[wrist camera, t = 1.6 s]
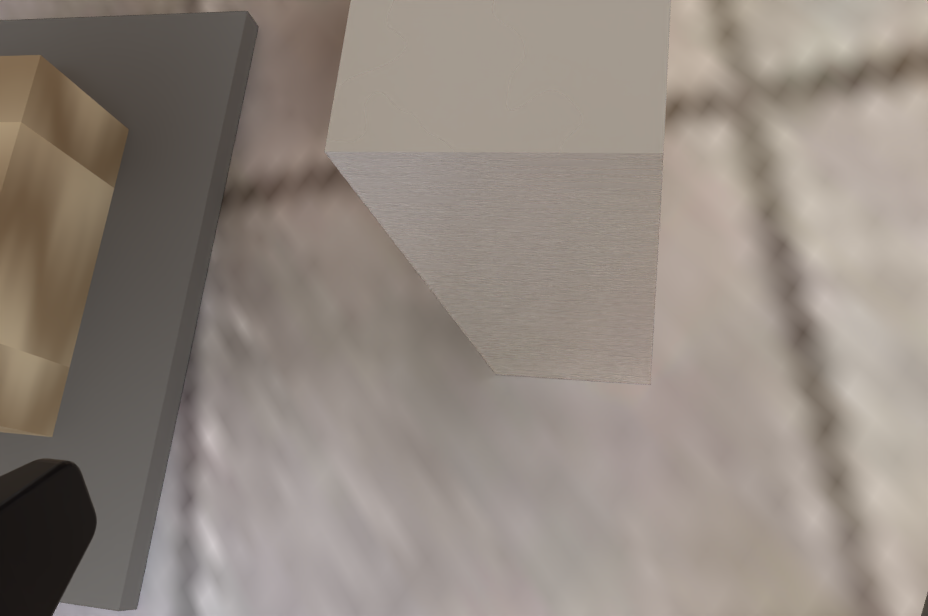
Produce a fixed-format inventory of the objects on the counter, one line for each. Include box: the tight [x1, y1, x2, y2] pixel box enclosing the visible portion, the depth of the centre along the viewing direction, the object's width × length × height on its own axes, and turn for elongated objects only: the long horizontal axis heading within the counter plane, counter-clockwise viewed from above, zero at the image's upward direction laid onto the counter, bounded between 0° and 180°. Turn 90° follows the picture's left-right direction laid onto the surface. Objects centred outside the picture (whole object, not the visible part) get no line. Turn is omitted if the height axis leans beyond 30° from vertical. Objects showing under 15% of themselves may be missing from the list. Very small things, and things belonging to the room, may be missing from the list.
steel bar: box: [324, 0, 671, 385], centre depth 16 cm, size 4×4×12 cm
